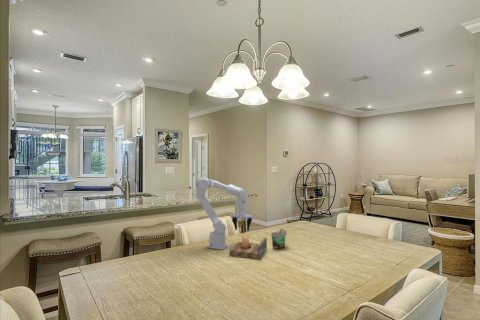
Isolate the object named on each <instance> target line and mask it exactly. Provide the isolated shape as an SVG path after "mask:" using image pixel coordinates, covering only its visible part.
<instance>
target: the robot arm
mask: <svg viewBox="0 0 480 320" xmlns="http://www.w3.org/2000/svg"><path fill="white" fill-rule="evenodd" d="M214 187H215V188H218V189H221V190H223V191H225V192H226V193H227V194H229V195H231V196H233V197H236V198H237V205H236V206H237V208H236V209H237V213H236V214H233V213H232V214H230V219H231V221H232V224H233V226H234V229H235V231H237V230H238V219H243V220H244V219H246V231H247V232H248V231H250V226H251V223H252V221H253V220H254V215H252V214H251V215H250V214H247V212H248V211H247V209H248V208H247V202H248V201H247V198H248V196H249V194H248V191H247V190H245V189H243V188H242V187H238V186H236V185H235V184H232V183H230V184H224V183H223V182H222V183H221V182H219V181H217V180H214V179H211V178H206V177H199V178H198V179H197V182H196V184H195V196H196V199H197V200H198V201H199V203H200V204H201V206H202V208H203V210H204V211H205V213H206V214H207V215H208V218H209V219H210V221H211V222H212V227H213V229H214V230H213V231H211V232H210V233H209V238H208V240H209V241H208V243H209V245H208V249H214V250H215V249H216V250H225V249H226V247H228V244H226V231H227V227H226V224H225V223H223V221H222V220H221V219H220V218H219V216H218V215H217V213H216V212H215V210H214V208H213V206H212V205H211V204H210V202H209V199H207V196H206V193H207V190H208V189H209V188H214Z"/></svg>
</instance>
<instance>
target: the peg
mask: <svg viewBox="0 0 480 320" xmlns="http://www.w3.org/2000/svg"><path fill="white" fill-rule="evenodd" d="M241 242H242V249H249V243H250V236H249V235H243V236H241Z"/></svg>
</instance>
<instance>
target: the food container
mask: <svg viewBox="0 0 480 320" xmlns="http://www.w3.org/2000/svg"><path fill="white" fill-rule="evenodd" d="M287 234H288V233H287V231H286V229H283V228H280V230H277V231H276V232H271V241H272V243H271V244H272V250H284V249H285V248H286V236H287Z"/></svg>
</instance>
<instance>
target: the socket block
mask: <svg viewBox="0 0 480 320" xmlns="http://www.w3.org/2000/svg"><path fill="white" fill-rule="evenodd" d="M267 240H268V238H267V237H263V238H262V240H261V241H259V243H254V242H249V249H242V241H238V242H237V243H236V244H235V245H233V247H232V248H230V249H229V257H237V258H243V259H245V258H246V259H255V260H261V259H262V258H263V256H264V255H265V253H266V252H267V250H268V244H267V243H268V242H267Z"/></svg>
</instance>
